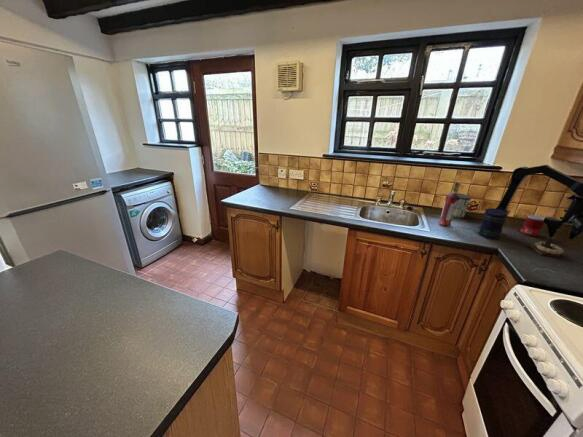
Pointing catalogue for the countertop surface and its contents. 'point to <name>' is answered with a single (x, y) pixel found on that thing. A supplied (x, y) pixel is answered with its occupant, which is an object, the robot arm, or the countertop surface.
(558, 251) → the tape
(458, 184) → the liquor
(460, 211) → the coffee can
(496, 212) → the storage jar
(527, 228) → the canned food
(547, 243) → the tape post
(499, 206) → the robot arm
